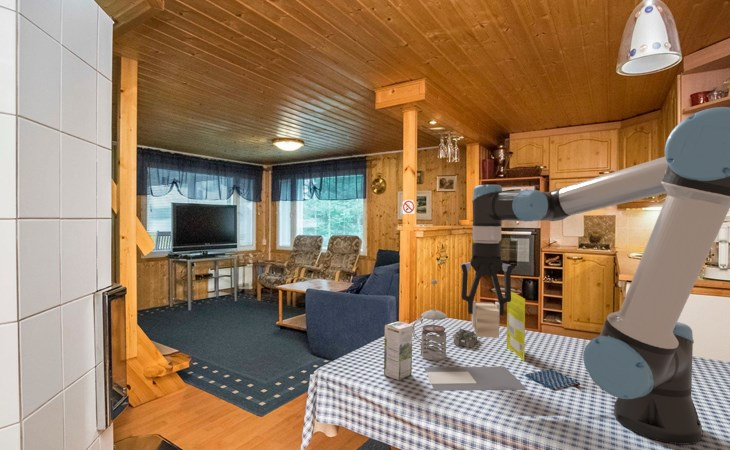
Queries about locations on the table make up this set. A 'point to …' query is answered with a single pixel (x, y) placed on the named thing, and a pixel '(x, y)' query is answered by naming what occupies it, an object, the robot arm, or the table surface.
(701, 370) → the table surface
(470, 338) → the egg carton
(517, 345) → the food package
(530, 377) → the woven mat
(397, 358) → the syrup box
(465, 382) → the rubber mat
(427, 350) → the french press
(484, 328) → the maple block
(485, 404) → the table surface
